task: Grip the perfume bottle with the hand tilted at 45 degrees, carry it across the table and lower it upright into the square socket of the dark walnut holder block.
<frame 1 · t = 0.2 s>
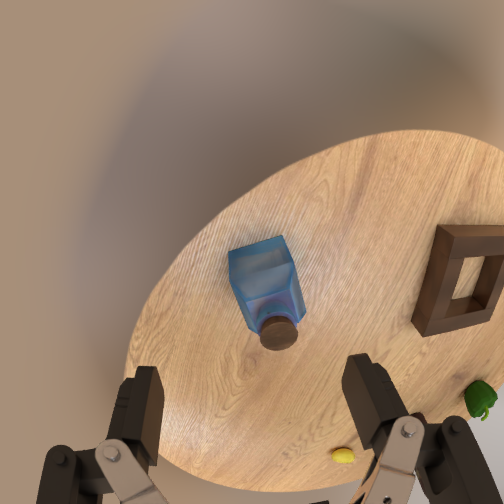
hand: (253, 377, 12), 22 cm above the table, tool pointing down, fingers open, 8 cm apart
lemon: (341, 449, 59), on the table
perfume bottle: (262, 266, 36), on the table
holder: (461, 272, 39), on the table
bell pepper: (471, 386, 56), on the table
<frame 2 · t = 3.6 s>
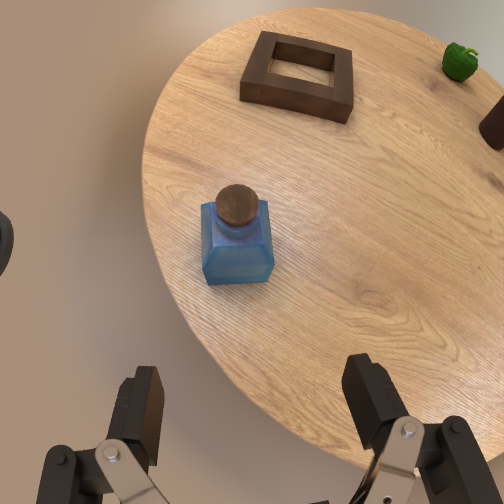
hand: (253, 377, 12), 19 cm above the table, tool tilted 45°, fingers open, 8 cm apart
wine bottle: (490, 137, 45), on the table
perfume bottle: (235, 256, 34), on the table
holder: (298, 80, 43), on the table
bell pepper: (451, 75, 51), on the table
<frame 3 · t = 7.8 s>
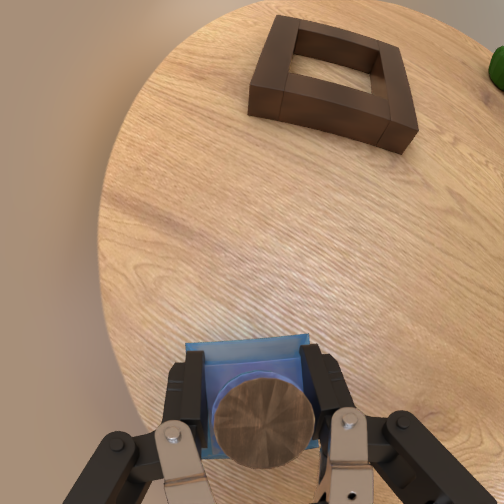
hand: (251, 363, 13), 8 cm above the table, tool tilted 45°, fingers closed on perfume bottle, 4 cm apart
perfume bottle: (247, 387, 20), on the table, touching gripper
holder: (331, 84, 30), on the table
bell pepper: (497, 84, 37), on the table
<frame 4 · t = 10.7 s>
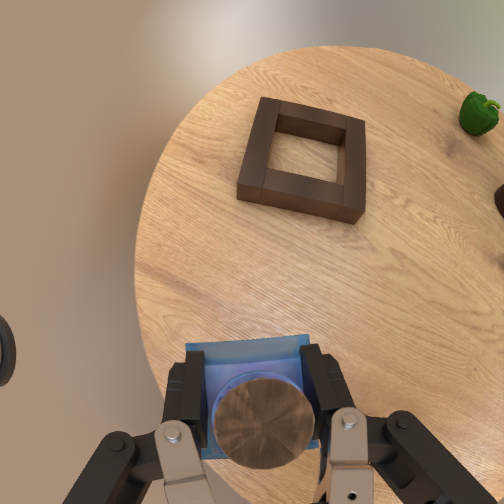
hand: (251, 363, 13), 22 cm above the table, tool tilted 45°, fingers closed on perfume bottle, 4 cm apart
perfume bottle: (247, 387, 20), point 13 cm above the table, touching gripper
holder: (303, 163, 42), on the table
bell pepper: (467, 127, 49), on the table
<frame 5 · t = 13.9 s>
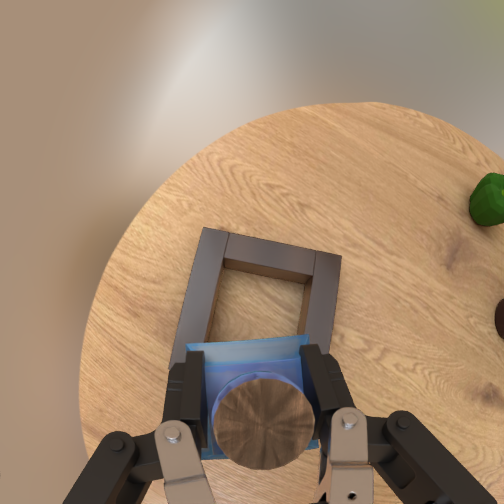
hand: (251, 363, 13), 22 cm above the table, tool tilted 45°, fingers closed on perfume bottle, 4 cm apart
perfume bottle: (247, 387, 20), point 14 cm above the table, touching gripper
holder: (257, 316, 35), on the table
bell pepper: (477, 213, 42), on the table
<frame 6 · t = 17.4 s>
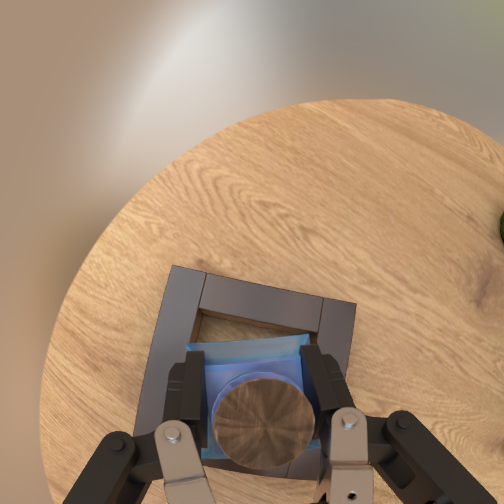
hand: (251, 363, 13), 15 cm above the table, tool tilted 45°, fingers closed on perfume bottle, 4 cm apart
perfume bottle: (247, 387, 20), point 7 cm above the table, touching gripper
holder: (244, 377, 26), on the table
when the fingers open (8 cm above the table, at t = 20.1 s): perfume bottle stays where it is, resting in holder.
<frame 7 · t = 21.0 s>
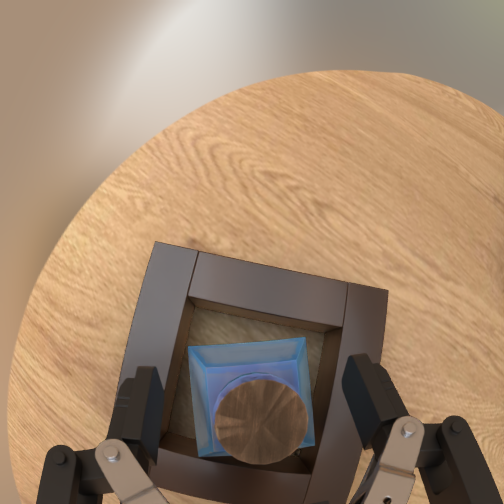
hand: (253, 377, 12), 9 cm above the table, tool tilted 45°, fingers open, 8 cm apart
perfume bottle: (247, 387, 21), resting in holder
holder: (247, 386, 20), on the table
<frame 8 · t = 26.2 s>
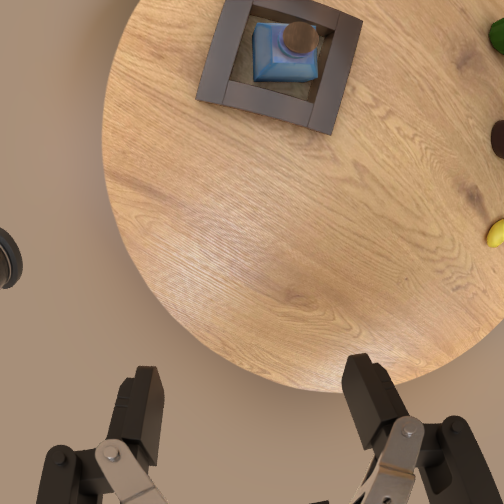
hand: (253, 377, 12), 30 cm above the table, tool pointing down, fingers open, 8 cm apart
wine bottle: (500, 138, 38), on the table
lemon: (493, 228, 45), on the table
perfume bottle: (277, 58, 32), resting in holder
holder: (278, 57, 32), on the table
bell pepper: (496, 40, 29), on the table
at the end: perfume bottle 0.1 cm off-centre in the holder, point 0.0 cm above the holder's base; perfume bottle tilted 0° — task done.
